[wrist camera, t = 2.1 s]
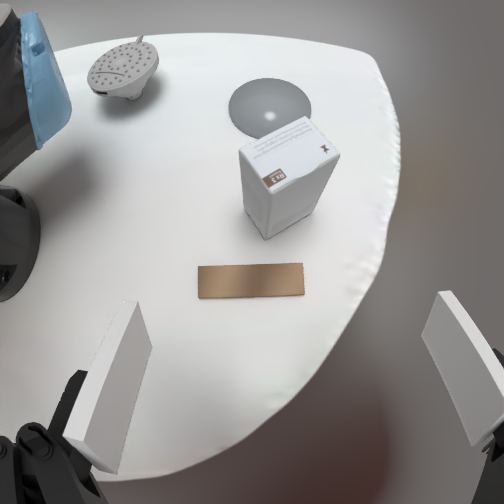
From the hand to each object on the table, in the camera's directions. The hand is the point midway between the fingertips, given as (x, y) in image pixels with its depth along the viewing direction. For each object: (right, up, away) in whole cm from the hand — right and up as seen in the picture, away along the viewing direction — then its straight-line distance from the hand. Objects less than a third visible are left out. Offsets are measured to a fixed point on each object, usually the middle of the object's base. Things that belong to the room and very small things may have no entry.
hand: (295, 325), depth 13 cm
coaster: (0, +21, +23) cm, 31 cm away
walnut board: (-2, 0, +17) cm, 17 cm away
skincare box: (+1, +7, +19) cm, 21 cm away
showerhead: (-18, +25, +24) cm, 39 cm away
